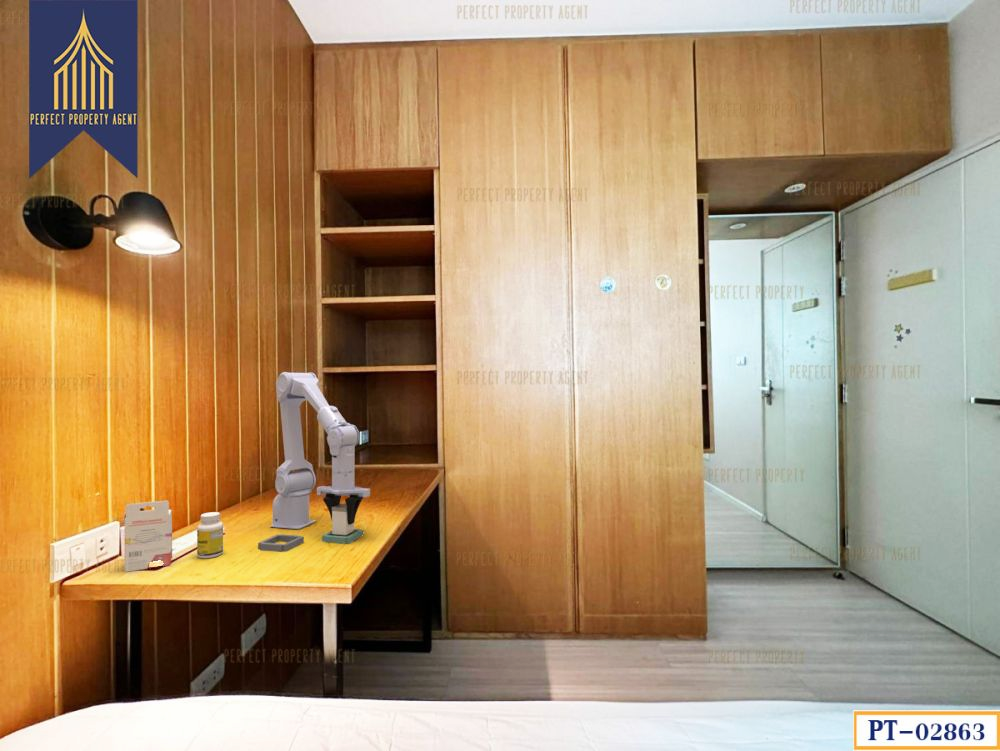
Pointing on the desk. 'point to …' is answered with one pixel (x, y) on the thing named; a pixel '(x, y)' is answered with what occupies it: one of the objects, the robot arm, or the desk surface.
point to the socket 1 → (272, 546)
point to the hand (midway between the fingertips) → (343, 523)
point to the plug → (340, 520)
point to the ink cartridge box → (147, 535)
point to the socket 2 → (342, 537)
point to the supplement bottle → (210, 536)
